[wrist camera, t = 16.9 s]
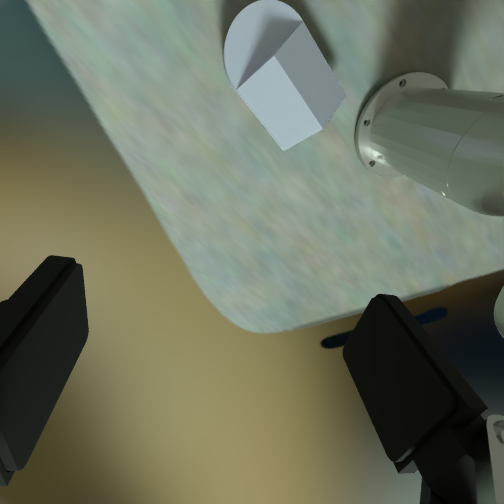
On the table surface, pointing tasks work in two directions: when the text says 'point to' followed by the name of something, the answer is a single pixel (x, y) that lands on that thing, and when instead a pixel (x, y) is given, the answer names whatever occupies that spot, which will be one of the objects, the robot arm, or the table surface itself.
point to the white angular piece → (280, 72)
